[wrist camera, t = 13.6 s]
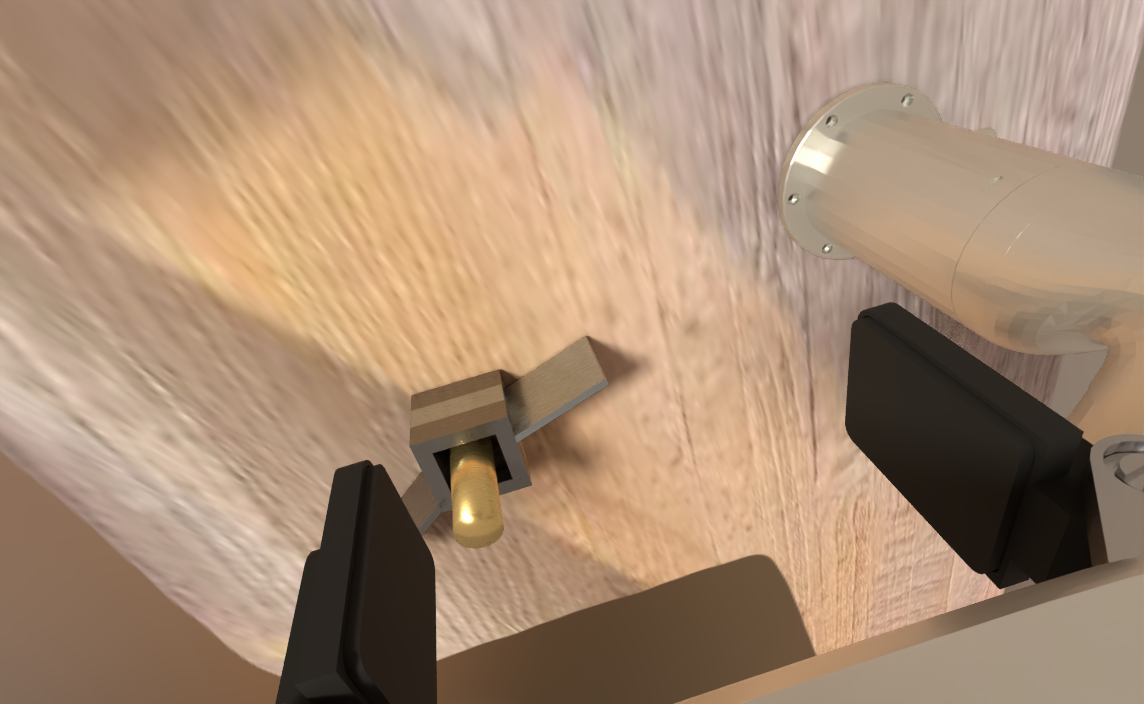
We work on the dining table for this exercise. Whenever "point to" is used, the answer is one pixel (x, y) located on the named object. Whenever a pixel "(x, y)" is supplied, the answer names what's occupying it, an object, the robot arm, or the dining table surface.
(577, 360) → the grey winged square socket
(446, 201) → the dining table surface
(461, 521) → the pin
